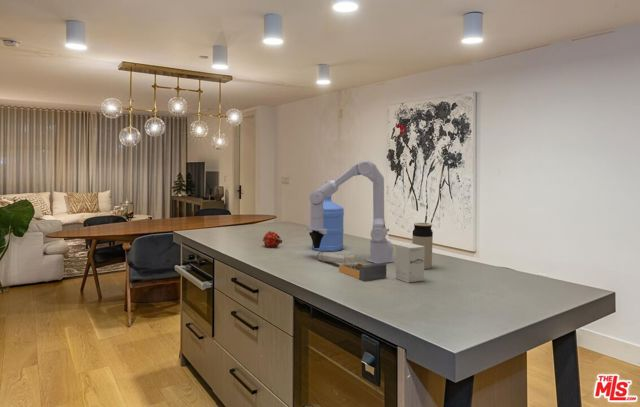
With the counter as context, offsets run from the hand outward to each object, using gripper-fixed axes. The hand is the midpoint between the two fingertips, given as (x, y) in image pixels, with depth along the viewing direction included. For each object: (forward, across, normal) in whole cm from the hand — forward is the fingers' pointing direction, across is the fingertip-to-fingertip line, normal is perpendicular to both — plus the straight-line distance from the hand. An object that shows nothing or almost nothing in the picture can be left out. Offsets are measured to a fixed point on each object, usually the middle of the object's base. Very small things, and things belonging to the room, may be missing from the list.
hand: (316, 248), depth 194 cm
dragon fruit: (+5, -35, -6) cm, 36 cm away
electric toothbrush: (+5, +17, 0) cm, 18 cm away
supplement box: (+5, +49, +11) cm, 51 cm away
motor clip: (+4, +35, 0) cm, 35 cm away
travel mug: (+4, +36, +29) cm, 47 cm away
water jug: (+5, -17, +16) cm, 24 cm away
